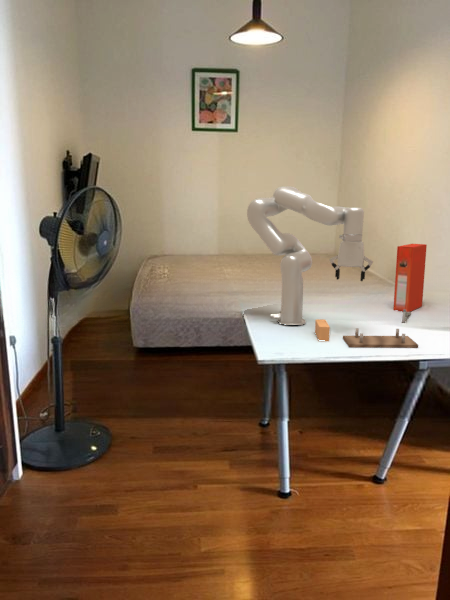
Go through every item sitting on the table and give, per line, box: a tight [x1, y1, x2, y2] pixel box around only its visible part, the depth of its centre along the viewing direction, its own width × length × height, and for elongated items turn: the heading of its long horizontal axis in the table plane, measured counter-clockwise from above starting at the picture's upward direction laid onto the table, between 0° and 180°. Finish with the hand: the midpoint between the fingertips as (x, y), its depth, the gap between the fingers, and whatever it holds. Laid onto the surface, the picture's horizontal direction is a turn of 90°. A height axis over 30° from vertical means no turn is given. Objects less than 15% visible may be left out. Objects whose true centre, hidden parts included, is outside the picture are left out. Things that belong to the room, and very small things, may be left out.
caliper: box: [401, 309, 412, 324], centre depth 235 cm, size 20×1×6 cm, turn 152°
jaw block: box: [314, 319, 331, 342], centre depth 204 cm, size 4×12×6 cm, turn 177°
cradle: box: [342, 328, 419, 349], centre depth 196 cm, size 26×12×5 cm, turn 89°
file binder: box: [393, 243, 428, 313], centre depth 251 cm, size 8×17×32 cm, turn 138°
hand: (349, 280), depth 207 cm, fingers open, 9 cm apart
